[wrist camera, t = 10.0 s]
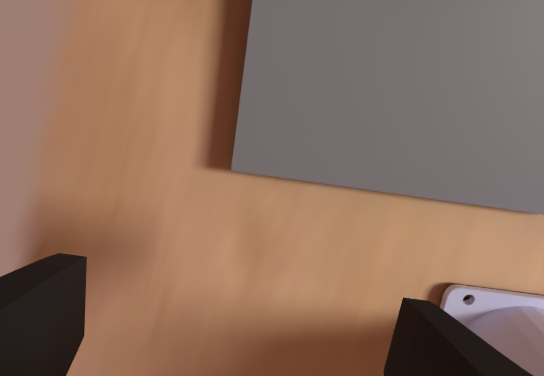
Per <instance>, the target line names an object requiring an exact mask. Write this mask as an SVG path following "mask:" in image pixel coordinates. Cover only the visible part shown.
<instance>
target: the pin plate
mask: <svg viewBox="0 0 544 376" xmlns="http://www.w3.org/2000/svg"><path fill="white" fill-rule="evenodd" d="M231 171H237V172H244V173H251V174H258V175H265V176H272V177H279V178H286V179H293V180H301V181H308V182H315V183H322V184H329V185H336V186H343V187H350V188H358V189H365V190H372V191H379V192H386V193H393V194H400V195H407V196H414V197H422V198H429V199H436V200H443V201H450V202H457V203H464V204H471V205H479V206H486V207H493V208H500V209H507V210H514V211H521V212H528V213H535V214H543V215H544V0H252V7H251V15H250V23H249V31H248V39H247V47H246V55H245V63H244V71H243V79H242V87H241V94H240V102H239V110H238V118H237V126H236V134H235V142H234V150H233V158H232V166H231Z"/></svg>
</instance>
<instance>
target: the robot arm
mask: <svg viewBox="0 0 544 376" xmlns="http://www.w3.org/2000/svg"><path fill="white" fill-rule="evenodd" d="M86 262H87V257H84V256H76V255H68V254H60V253H58V254H55V255H52V256H49V257H46V258H44V259H41V260H39V261H36V262H34V263H32V264H29V265H27V266H24V267H22V268H20V269H18V270H15V271H13V272H11V273H8V274H6V275H4V276H2V277H0V376H66V374H67V372H68V370H69V368H70V366H71V364H72V362H73V360H74V357H75V355H76V353H77V351H78V348H79V346H80V344H81V342H82V339H83V337H84V326H85V294H86ZM466 295H471V297H470V298H469V299H468V300H463V298H464V297H465V296H466ZM384 376H544V296H542V295H534V294H527V293H519V292H512V291H504V290H496V289H489V288H481V287H473V286H466V285H458V284H457V285H451V286H449V287H448V288H447V289H446V290H445V292H444V294H443V298H442V301H441V304H440V307H438V306H437V305H435V304H433V303H432V302H430V301H425V300H417V299H409V298H403V300H402V304H401V307H400V311H399V315H398V319H397V323H396V326H395V330H394V334H393V338H392V341H391V345H390V349H389V353H388V357H387V360H386V364H385V368H384Z"/></svg>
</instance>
